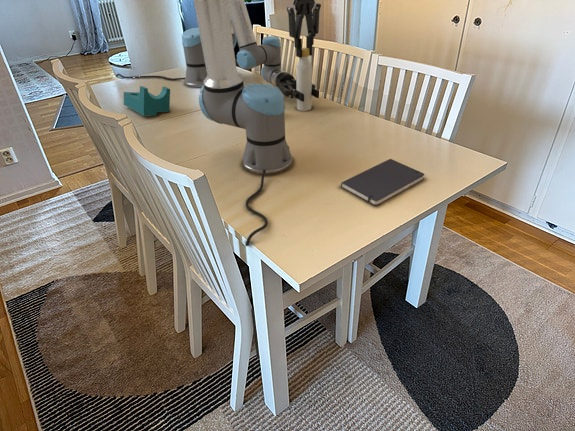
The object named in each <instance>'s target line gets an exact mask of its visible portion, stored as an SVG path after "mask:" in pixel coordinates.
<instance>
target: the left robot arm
mask: <svg viewBox="0 0 575 431" xmlns="http://www.w3.org/2000/svg"><path fill="white" fill-rule="evenodd" d="M227 4H228V11H229V18H230V26H231V33H232V40H233V47H234V48H235V47H236V45H237V46H238V52H237V54H236V64H237V65H238V66H239V67H240V68H241V69H243V70H250V69H254V68H256V67H259V66H262V65H263V66H262V68H261V70H260V74H261V75H260V76H261V78H262V79H263V80H264V81H265V82H266V83H267V84H270V85H272V86H275V87H277V88H278V89H279V90H280V91H281V92H282V94H283V96H285V97H286V98H289V97H290V99H294V98H295V99H296V100H297V99H299V100H300V101H302V102H303V101H304V94H302V93H301V92H299V91H297V87H296V79H295V77H294V75H292V74H291V73H289V72H287V71H285V70H283V69H282V53H281V52H282V50H281V48H282V46H281V39H280V37H278V36H276V35H275V36H274V35H270V36H265V37H263V38H262V44H259V45H258V42H257V40H256V37H255V32H254V29H253V25H252V22H251V19H250V16H249V11H248V9H247V5H246V1H245V0H227ZM181 44H182V47H183V54H184V59H185V66H186V68H185V69H186V70H185V77H174V78H173V77H167V76H165V75H136V76H135V75H134V76H124V75H122V74H121V73H117V74H116V75H115V77H116V78H118V77H121V78H122V79H127V80H128V79H129V80H130V79H142V78H144V79H145V78H146V79H147V78H158V79H164V80H169V81H181V80H184V83H185V86H187V87H190V88H202V86H203V85H204V80H205V78H206V77H207V71H206V65H205V60H204V54H203V49H202V44H201V38H200V33H199V27H198V26H197V27H192V28H189V29H187V30H185V31H183V33H182V34H181ZM139 76H140V77H139ZM133 77H135V78H133ZM312 97H313V98H315V99H319V97H320V90H318V89H316V84H314V83H312Z"/></svg>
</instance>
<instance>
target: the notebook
mask: <svg viewBox="0 0 575 431" xmlns="http://www.w3.org/2000/svg"><path fill="white" fill-rule="evenodd" d="M424 176H425V173H424V172H422V171H420V170H417V169H415V168H413V167H410V166H408V165H406V164H404V163H401V162H399V161H397V160H395V159H393V158H389V159H387V160H385V161H382V162H380V163H379V164H377V165H375V166H372V167H370V168H368V169H366V170H364V171H362V172H360V173H358V174H356V175H353V176H351V177H350V178H348V179H345V180H344V181H341V182H340V183H341V184H340V187H341V188H342V189H344V190H345V191H347V192H349V193H350V194H353V195H355V196H356V197H358V198H360V199H362V200H363V201H365V202H367V203H369V204H371V205H373V206H379V205H381V204H382V203H384V202H386V201H388V200H390V199H391V198H393V197H395V196H397V195H398V194H400V193H402V192H404V191H406V190H407V189H409V188H411V187H413V186H415V185H416V184H418V183H420V182H422V181H423V180H424Z"/></svg>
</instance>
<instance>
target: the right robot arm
mask: <svg viewBox="0 0 575 431" xmlns="http://www.w3.org/2000/svg"><path fill="white" fill-rule="evenodd" d="M193 5H194V11H195V15H196V21H197V27H199V33H200V38H201V44H202V49H203V54H204V60H205V65H206V71H207V77H206V78H205V80H204V85H203V86H202V87H200V91H199V95H198V106H199V109H200V111H201V113H202V114H203V115H204V116H205V118H206V119H208V120H210V121H212V122H215V123H217V124H220V125H226V126H231V127H235V128H239V129H242V130H243V129H244V130H245V136H246V137H245V138H246V143H245V146H244V151H243V155H242V166H243V168H244V170H246V171H247V172H249V173H252V174H254V175H255V174H256V175H261V179H260V187H259V188H258V190H257V191H256V192H254V193H252V194H251V195H250V196H249V197H248V198H247V199H246V201H245V207H246V209H248V211H249V212H251V213H253V214H254V215H257V216H259V217H260V218H262V219H263V221H264V224H263V225H262V226H261V227H258V228H257V229H255V230H253V231H252V232H250V234H249V235H248V236H247V239H246V242H245V246H246V247H248V246H250V242H251V240H252V238H253V237H254V236H255V235H256V234H258V233H259V232H262V231H263V230H265V229H266V228H267V226H268V224H269V222H268V219H267V217H266V216H265V215H264V214H262V213H261V212H258V211H256V210H254V209H253V208H252V207H250V205H249V203H250V202H251V200H252V199H254V198H255V197H256V196H257V195H259V194H260V193H261V192H262V190H263V187H264V181H265V176H269V175H277V174H280V173H283V172H286V171H287V170H289V169H290V167H291V166H292V163H293V158H292V153H291V150H290V146H289V145H288V143H287V140H286V111H285V110H286V105H285V97H284V95H283V94H282V92H281V91H280V90H279V89H278V88H277V87H276V86H274V85H273V84H270V83H263V82H262V83H249V84H247V85H245V84H244V76H243V75H241V74H240V73H239V72H238V71H237V69H238V68H237V61H236V55H235V47H233V40H232V33H231V26H230V18H229V11H228V4H227V0H193ZM321 8H322V4H321V3H318V2H316V1H315V0H293V3H292V5H291V6H286V12H287V15H288V36H289V37H290V38H293V39H294V41H293V44H294V48H295V57H297V58H300V59H301V58H302V48H303V38H301V35H302V34H301V33H302V27H303V21H304V20H303V19H304V18H305V22H306V24H305V25H306V29H307V35H306V37H305V40H306V41H305V43H306V44H305V48H309V50H310V55H309V57H310V56H313V46H314V42H315V40H314V39H315V37H316V36H317V35H318V34H319V30H320V29H319V28H320V10H321ZM250 310H251V312H250V313H251V319H252V329H253V337H254V346H255V354H256V359H257V360H260V352H259V341H258V333H257V323H256V316H255V308H253V307H252V308H250Z"/></svg>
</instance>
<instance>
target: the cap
mask: <svg viewBox="0 0 575 431" xmlns="http://www.w3.org/2000/svg"><path fill="white" fill-rule="evenodd" d="M302 57H308V58H309V57H310V50H309V48H306V47H302Z"/></svg>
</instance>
